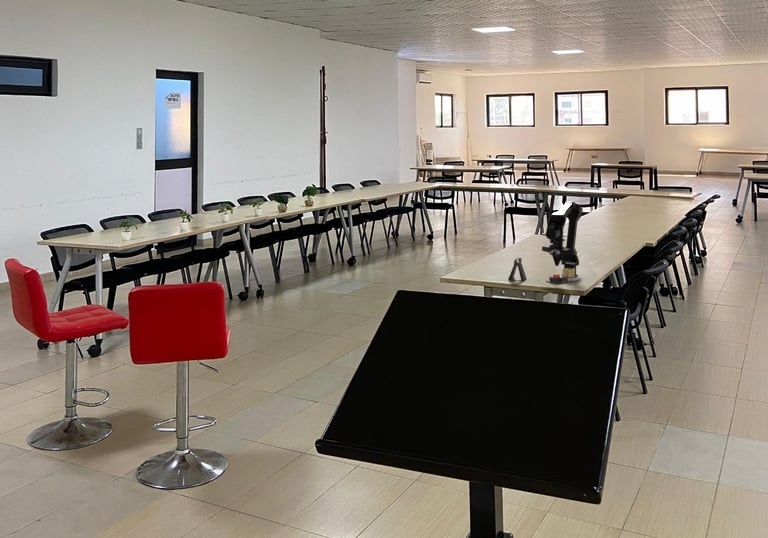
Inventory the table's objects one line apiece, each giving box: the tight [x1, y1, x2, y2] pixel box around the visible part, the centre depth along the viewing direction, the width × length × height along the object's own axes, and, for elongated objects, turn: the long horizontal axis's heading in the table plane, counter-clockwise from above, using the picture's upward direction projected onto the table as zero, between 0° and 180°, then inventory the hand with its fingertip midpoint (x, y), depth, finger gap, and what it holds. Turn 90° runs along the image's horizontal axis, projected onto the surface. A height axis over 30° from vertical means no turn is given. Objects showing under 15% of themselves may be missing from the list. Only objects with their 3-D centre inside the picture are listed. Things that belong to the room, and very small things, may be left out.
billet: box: [562, 267, 575, 278], centre depth 410 cm, size 4×4×6 cm
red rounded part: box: [552, 273, 561, 278], centre depth 407 cm, size 3×3×3 cm
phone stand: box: [507, 257, 527, 282], centre depth 414 cm, size 9×6×12 cm, turn 68°
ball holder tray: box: [546, 275, 580, 285], centre depth 409 cm, size 16×8×3 cm, turn 117°
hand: (556, 265), depth 405 cm, fingers closed
